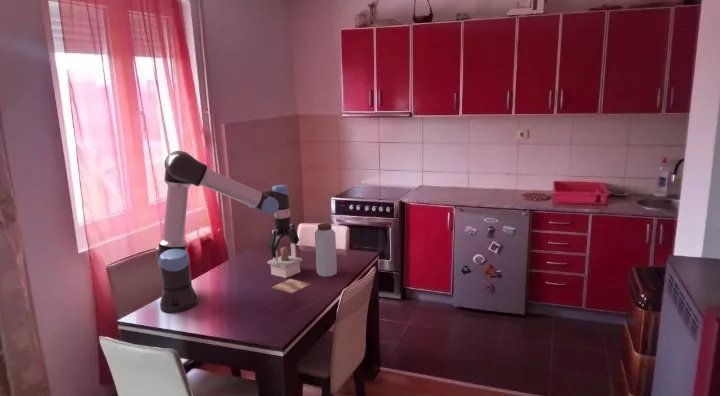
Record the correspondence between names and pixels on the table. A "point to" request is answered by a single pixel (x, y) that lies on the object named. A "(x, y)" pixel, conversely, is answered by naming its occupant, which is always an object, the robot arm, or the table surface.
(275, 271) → the dish
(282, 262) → the lid
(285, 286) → the plate
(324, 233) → the water bottle
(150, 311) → the table surface
